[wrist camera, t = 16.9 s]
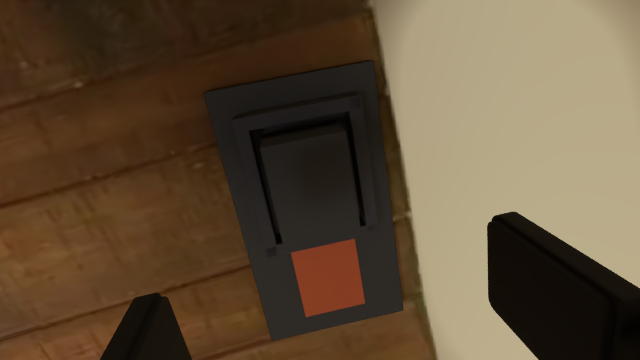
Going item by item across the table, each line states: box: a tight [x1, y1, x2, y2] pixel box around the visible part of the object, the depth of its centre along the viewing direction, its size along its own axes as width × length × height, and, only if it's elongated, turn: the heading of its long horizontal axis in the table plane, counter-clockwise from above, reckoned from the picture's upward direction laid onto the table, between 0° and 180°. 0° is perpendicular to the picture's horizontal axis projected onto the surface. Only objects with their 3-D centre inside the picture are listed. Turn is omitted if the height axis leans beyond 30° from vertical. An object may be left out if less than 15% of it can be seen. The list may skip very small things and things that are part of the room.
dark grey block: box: [260, 121, 361, 250], centre depth 21 cm, size 6×4×4 cm
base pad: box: [204, 61, 403, 341], centre depth 23 cm, size 18×10×2 cm, turn 10°
